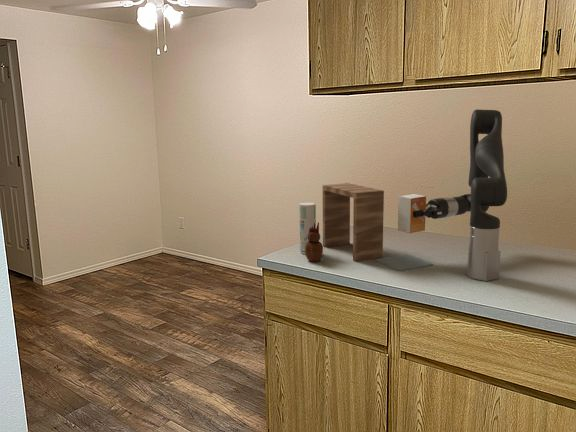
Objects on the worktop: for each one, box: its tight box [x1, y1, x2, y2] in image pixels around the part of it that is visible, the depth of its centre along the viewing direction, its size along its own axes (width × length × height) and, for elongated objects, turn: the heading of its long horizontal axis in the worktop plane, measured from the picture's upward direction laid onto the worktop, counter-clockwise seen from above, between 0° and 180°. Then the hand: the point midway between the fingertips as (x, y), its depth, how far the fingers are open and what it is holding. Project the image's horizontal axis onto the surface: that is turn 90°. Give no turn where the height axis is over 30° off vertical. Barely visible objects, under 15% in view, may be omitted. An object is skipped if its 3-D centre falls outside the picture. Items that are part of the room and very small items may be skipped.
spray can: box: [298, 201, 317, 256], centre depth 196 cm, size 6×6×20 cm
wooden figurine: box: [304, 221, 324, 263], centre depth 186 cm, size 7×6×15 cm
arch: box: [322, 182, 385, 263], centre depth 196 cm, size 26×12×26 cm, turn 24°
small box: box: [397, 193, 427, 234], centre depth 180 cm, size 8×6×13 cm
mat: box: [374, 253, 434, 272], centre depth 182 cm, size 15×15×1 cm
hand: (407, 212), depth 179 cm, fingers closed on small box, 7 cm apart
